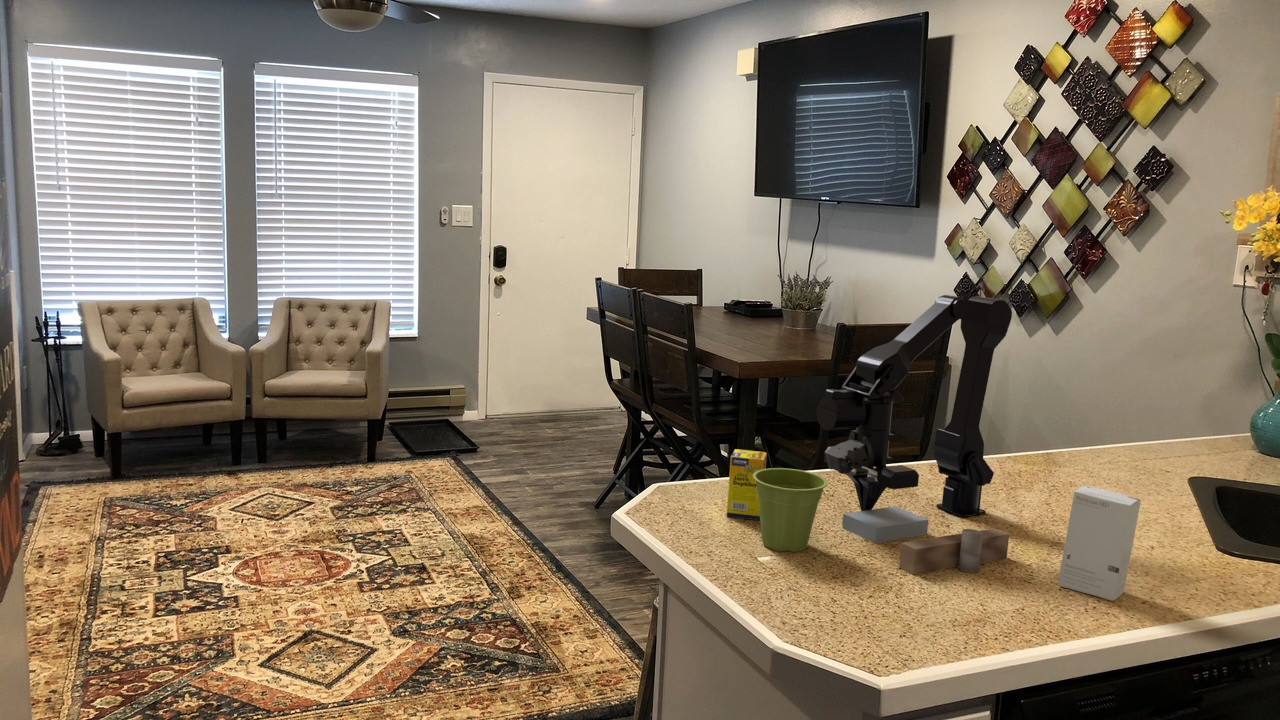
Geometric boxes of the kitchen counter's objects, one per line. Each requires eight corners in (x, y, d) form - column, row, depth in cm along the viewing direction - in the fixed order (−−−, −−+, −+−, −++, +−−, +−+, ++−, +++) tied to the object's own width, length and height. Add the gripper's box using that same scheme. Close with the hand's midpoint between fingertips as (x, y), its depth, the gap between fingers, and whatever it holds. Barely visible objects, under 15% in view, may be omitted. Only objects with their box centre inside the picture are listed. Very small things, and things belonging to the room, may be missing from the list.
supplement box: (760, 521, 172) (764, 459, 170) (725, 517, 173) (730, 456, 171) (763, 511, 177) (767, 451, 176) (729, 507, 179) (733, 448, 177)
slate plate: (893, 522, 176) (894, 506, 176) (926, 536, 169) (928, 519, 169) (841, 530, 170) (843, 513, 170) (874, 545, 163) (876, 528, 163)
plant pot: (739, 550, 156) (744, 481, 155) (758, 528, 167) (763, 464, 166) (813, 563, 152) (819, 493, 150) (828, 540, 163) (834, 474, 161)
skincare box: (1057, 586, 148) (1069, 490, 146) (1070, 576, 152) (1081, 483, 150) (1117, 603, 143) (1130, 503, 140) (1128, 592, 147) (1141, 495, 145)
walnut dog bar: (992, 551, 162) (996, 516, 161) (1021, 564, 157) (1025, 528, 156) (899, 567, 152) (902, 530, 151) (927, 581, 147) (931, 542, 146)
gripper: (803, 417, 176) (796, 502, 178) (873, 442, 160) (864, 535, 162) (852, 414, 181) (845, 496, 183) (925, 438, 165) (916, 528, 167)
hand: (865, 513), depth 174 cm, fingers closed
